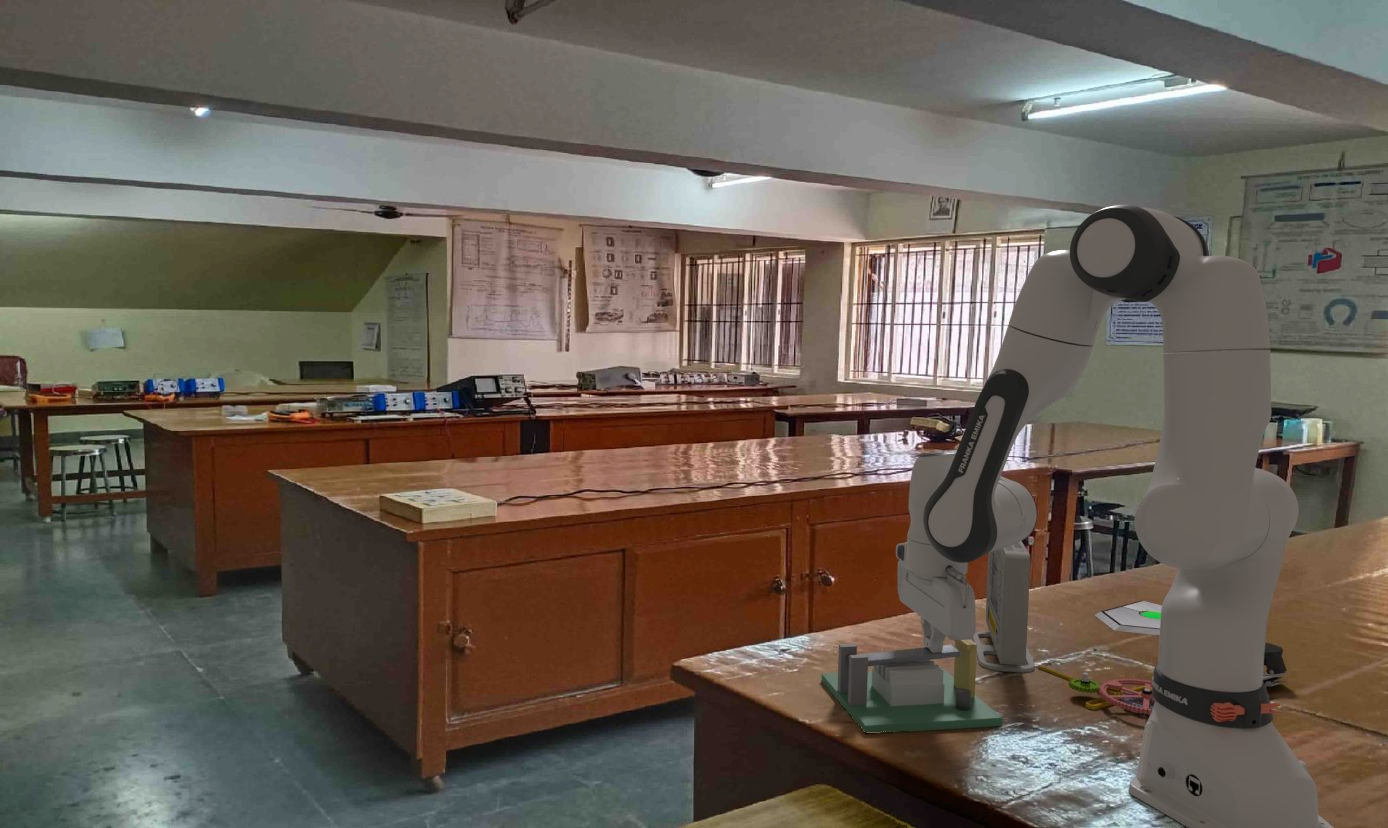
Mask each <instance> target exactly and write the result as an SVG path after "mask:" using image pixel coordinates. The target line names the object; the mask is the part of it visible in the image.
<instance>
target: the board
mask: <svg viewBox="0 0 1388 828" xmlns="http://www.w3.org/2000/svg"><path fill="white" fill-rule="evenodd" d="M953 642H954V647H955V648H957V649H958V650H959V651H960V657H954V666H953V668H954V669H953V675H952V674H951V673H949V671H946V669H944V668H943V667H940V666H939V665H938V664H935V662H934V660H923V661H914V662H904V663H895V664H886V665H876V666H872V668H871V670H869V666H868V657H867V656H866V655H857V654H858V646H857V645H856V644H855V643H843V644H842V643H841V644H838V655H837V656H838V657H837V658H838V659H837V661H838V662H837V663H838V665H837V672H828V673H827V672H826V673H821V682H822V684H823V685H824V686H825V687H826V688H827V690H828V691H829V692H830V694H832V696H833V695H834V696H833V697H834V699H835V700H836V701H837V700H838V701H839V702H840V703H839V702H838V701H837V702H838V703H839V705H841V706H843V707H842V708H843V709H844V708H845V709H846V710H845V709H844V710H845V712H846V713H847V712H848V713H849V714H850V715H851V716H852V717H853V719H854V720H855V721H856V722H857V723H858V724H859V726H860V727H862V729H863V730H864V731H865V732H881V731H882V732H883V731H884V732H885V731H886V732H889V731H890V732H893V731H895V732H894V733H900V732H899V731H910V732H925V731H940V730H955V729H957V730H959V729H960V730H961V729H975V728H990V727H1002V726H1003V716H1001V715H1000V714H999V713H998V712H997V711H995V710H994V709H993V708H991V707H990V706H989V705H988V704H987V703H986V702H984V700H982V699H980V697H978V695H976V678H977V677H976V675H977V674H976V673H977V670H976V669H977V644H976V643H974V642H973V640H972V639H969V640H953ZM849 654H850V655H849ZM847 655H849V662H848V661H847V660H846V656H847ZM848 713H847V714H848ZM849 714H848V715H849ZM850 715H849V716H850ZM851 716H850V717H851ZM853 719H852V720H853ZM854 720H853V721H854ZM855 721H854V722H855ZM856 722H855V723H856ZM859 726H858V727H859ZM860 727H859V728H860ZM897 731H898V732H897Z"/></svg>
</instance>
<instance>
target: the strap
mask: <svg viewBox="0 0 1388 828" xmlns="http://www.w3.org/2000/svg"><path fill="white" fill-rule="evenodd" d="M849 655H850V654H849ZM849 655H847V656H846V660H847V661H848V662H849ZM857 655H866V656H867V657H868V667H873V666H876V665H886V664H895V663H904V662H914V661H923V660H930V661H933V660H940V659H941V660H942V659H949V658H955V657H960V651H959V650H958V649H957V648H955V645H953V644H945V645H944V644H943V650H942V652H937V653H932V652H931V651H930V650H929V649H927V648H926V647H925V646H923V647H916V648H915V647H914V648H907V649H898V650H897V649H895V650H885V651H880V652H879V651H878V652H877V651H876V652H870V653H869V652H868V653H860V654H859V653H857Z"/></svg>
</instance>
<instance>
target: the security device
mask: <svg viewBox="0 0 1388 828" xmlns="http://www.w3.org/2000/svg"><path fill="white" fill-rule="evenodd" d="M1161 608H1162V604H1157V603H1153V602H1149V601H1145V600H1139V601H1133V602H1131V603H1126V604H1123V605H1120V606H1117V607H1112V608H1109V609H1105V610H1101V611H1099V612H1097V613H1095V614H1094V617H1096V618H1097V619H1098V620H1099V621H1101V622H1103V623H1104V624H1105V625H1107V626H1108V627H1109V628H1110V629H1112V630H1113V631H1115V632H1124V633H1125V632H1126V633H1134V634H1144V635H1152V636H1160V623H1161Z"/></svg>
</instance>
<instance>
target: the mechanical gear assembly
mask: <svg viewBox="0 0 1388 828" xmlns="http://www.w3.org/2000/svg"><path fill="white" fill-rule="evenodd" d="M1037 669H1038V670H1041V671H1044V672H1046V673H1049V674H1052V675H1055V676H1056V677H1059V678H1062V679H1065V680H1068V687H1069V689H1071V690H1074V692H1075V691H1076V692H1077V691H1078V692H1081V693H1083V694H1084V693H1086V694H1088V693H1089V694H1093V693H1094V694H1096V693H1097V694H1098V695H1099V696H1100V697H1098V698H1095V699H1091V700H1087V701H1085V708H1087V709H1089V710H1100V709H1102V708H1103V709H1104V708H1107V707H1110V706H1116V707H1117V708H1118V707H1119V708H1120V709H1123V710H1126V711H1131V712H1135V713H1137V714H1138V713H1139V714H1144V715H1148V716H1150V715H1151V712H1152V709H1153V707H1154V703H1155V699H1154V698H1153V696H1152V687H1153V686H1152V680H1145V679H1140V678H1139V679H1137V678H1135V679H1134V678H1120V679H1119V678H1117V679H1116V678H1113V679H1109V680H1105V681H1103V682H1101V683H1100V682H1098V681H1096V680H1092V679H1089V673H1088V672H1083V673H1082V678H1080V677H1078V678H1076V677H1072V676H1070V675H1067V674H1064V673H1062V672H1060V671H1057V670H1055V669H1051V668H1049V667H1046V666H1043V665H1038V666H1037ZM1123 685H1134V686H1135V685H1136V686H1137V687H1133V688H1127V687H1125V686H1123Z"/></svg>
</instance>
